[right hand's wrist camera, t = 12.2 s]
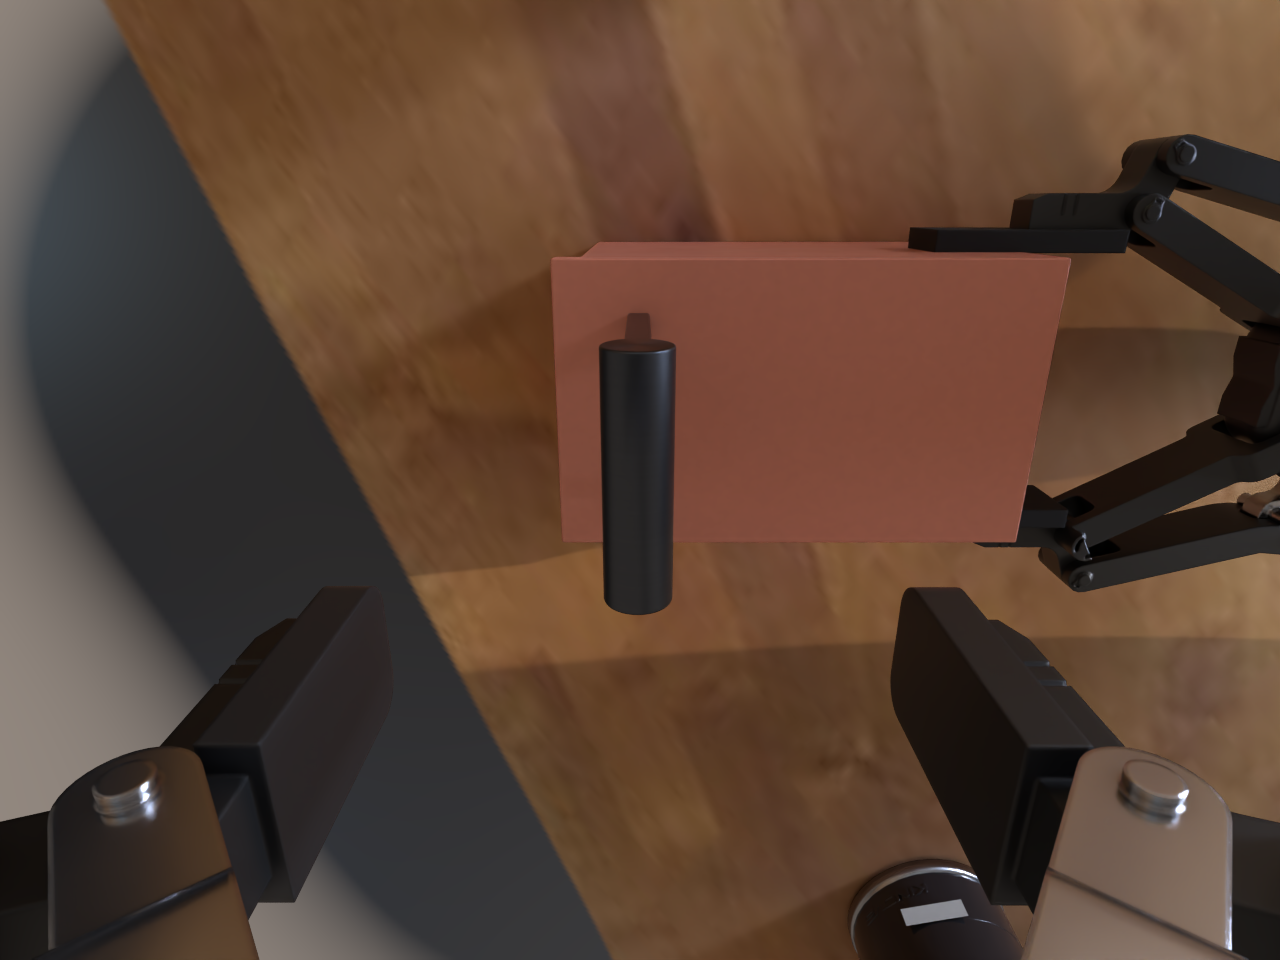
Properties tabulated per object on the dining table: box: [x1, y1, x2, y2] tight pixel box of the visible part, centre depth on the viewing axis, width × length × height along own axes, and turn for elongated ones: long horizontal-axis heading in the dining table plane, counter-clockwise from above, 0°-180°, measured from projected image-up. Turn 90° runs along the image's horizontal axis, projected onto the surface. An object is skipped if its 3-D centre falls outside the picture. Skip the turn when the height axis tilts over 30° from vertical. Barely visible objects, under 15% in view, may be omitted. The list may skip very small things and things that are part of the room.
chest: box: [581, 242, 1050, 257], centre depth 29 cm, size 15×10×10 cm, turn 90°
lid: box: [550, 256, 1071, 615], centre depth 21 cm, size 16×10×8 cm, turn 90°
